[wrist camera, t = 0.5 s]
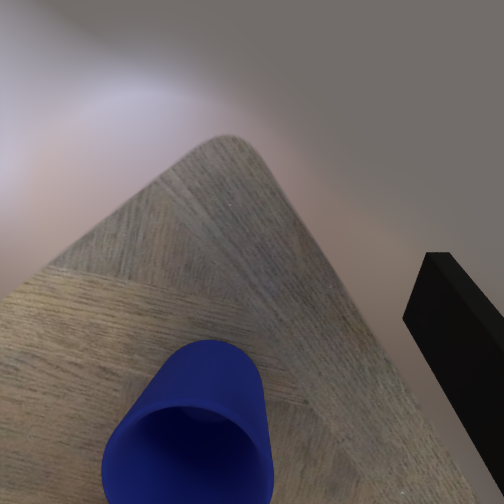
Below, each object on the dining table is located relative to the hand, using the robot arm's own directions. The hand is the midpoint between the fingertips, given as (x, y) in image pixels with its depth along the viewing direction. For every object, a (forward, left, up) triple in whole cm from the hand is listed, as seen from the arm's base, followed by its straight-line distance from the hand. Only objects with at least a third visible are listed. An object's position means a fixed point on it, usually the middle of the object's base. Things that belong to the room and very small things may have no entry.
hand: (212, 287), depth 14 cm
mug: (+9, +10, -16) cm, 21 cm away
